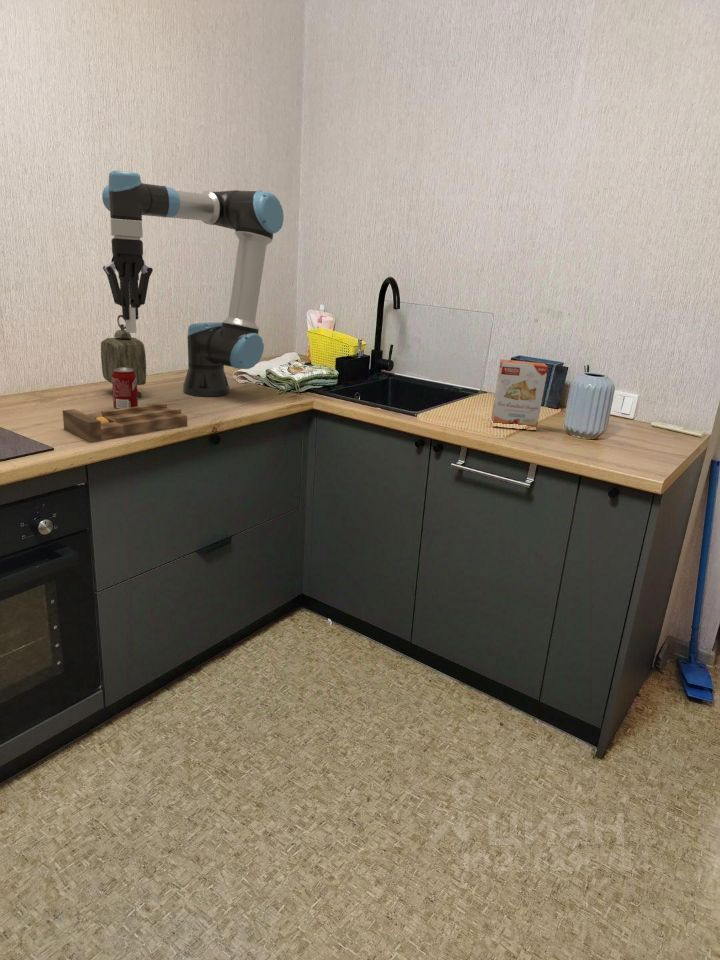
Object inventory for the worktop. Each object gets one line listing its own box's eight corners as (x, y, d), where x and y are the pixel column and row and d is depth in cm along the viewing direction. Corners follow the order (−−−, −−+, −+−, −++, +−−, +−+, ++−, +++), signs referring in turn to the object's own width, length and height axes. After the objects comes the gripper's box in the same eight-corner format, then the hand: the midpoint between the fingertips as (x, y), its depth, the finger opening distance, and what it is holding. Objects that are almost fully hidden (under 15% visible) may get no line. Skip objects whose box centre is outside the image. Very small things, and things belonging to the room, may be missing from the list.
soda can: (130, 413, 188) (128, 372, 184) (109, 410, 190) (106, 369, 186) (142, 408, 195) (140, 368, 191) (121, 405, 196) (119, 366, 192)
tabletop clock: (147, 398, 207) (144, 318, 198) (119, 401, 201) (114, 318, 193) (129, 388, 217) (125, 312, 208) (102, 391, 211) (97, 312, 203)
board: (159, 414, 190) (159, 398, 188) (187, 425, 181) (187, 408, 179) (64, 429, 170) (62, 410, 168) (90, 442, 161) (88, 422, 159)
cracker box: (492, 428, 205) (502, 361, 198) (490, 423, 210) (499, 358, 203) (537, 432, 204) (548, 365, 197) (533, 427, 210) (544, 362, 203)
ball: (105, 415, 171) (91, 415, 168) (113, 419, 169) (98, 418, 166) (103, 430, 172) (89, 430, 169) (111, 434, 170) (96, 433, 167)
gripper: (142, 238, 173) (145, 329, 181) (95, 235, 163) (100, 331, 171) (158, 240, 168) (160, 333, 176) (110, 237, 159) (115, 335, 167)
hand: (131, 332), depth 174 cm, fingers closed
